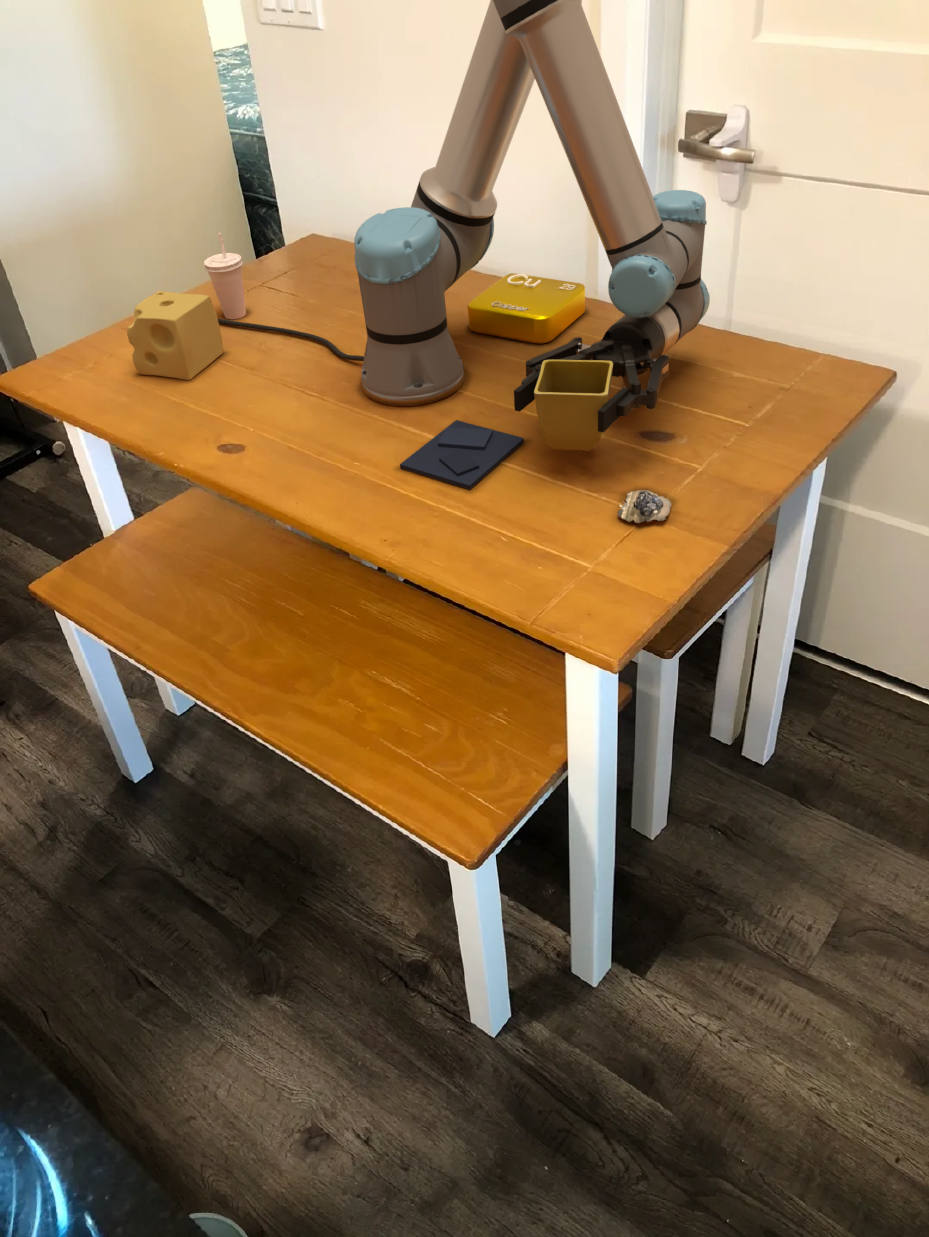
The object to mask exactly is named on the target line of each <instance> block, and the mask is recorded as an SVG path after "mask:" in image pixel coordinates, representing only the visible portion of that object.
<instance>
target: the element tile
mask: <svg viewBox="0 0 929 1237" xmlns="http://www.w3.org/2000/svg"><path fill="white" fill-rule="evenodd" d="M585 311H586V286H585V285H584V284H583V283H580V282H575V281H567V280H561V279H553V278H549V277H548V278H547V277H540V276H535V275H528V274H523V273H522V274H521V273H514V272H513V273H509V274H507V275H504V276H503V277H502V278H499V280H497V281H496V282H495V283H493V284H491V285H490V286H489V287H487V288H486V289H485V290H484V291H482V292H481V293H480V294H478V295H477V296H475V297H474V298H472V299H471V300H470V301H469V302H468V303H467V315H468V328H469V330H470V331H472V332H473V333H478V334H483V335H487V336H494V337H498V338H505V339H508V340H515V341H520V342H526V343H531V344H540V345H541V344H548V343H550V342H552V341H553V340H554V339H555V338H556V337H558V336H559V335H560V334H561V333H563V331H565V330H566V329H567V328H568V327H569V326H571V324H573V323H574V322H575V321H576V320H577V319H579V318H580V317H581V316H582V315H583V314H584V313H585Z"/></svg>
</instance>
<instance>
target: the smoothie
mask: <svg viewBox="0 0 929 1237" xmlns="http://www.w3.org/2000/svg"><path fill="white" fill-rule="evenodd" d="M217 236H218V241H219V244H220V248H221V253H218V254H214V255H211V256H209V257H207V258H206V259H205V260H204V261H203V265H204V270H205V271H206V272H207V274H208V276H209V278H210V281H211V284H212V287H213V289H214V291H215V294H216V297H217V300H218V302H219V305H220V307H221V310H222V313H223V316H224V318H225V319H226V320H238V319H241V318H243V317H245V316H246V315H247V308H246V300H245V299H246V298H245V290H244V288H245V287H244V281H243V270H242V269H243V268H242V265H243V258H242V256H241V255H240V254H238V253H235V252H226V248H225V244H224V239H223V236H222V232H218V233H217Z"/></svg>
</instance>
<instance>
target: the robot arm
mask: <svg viewBox="0 0 929 1237" xmlns="http://www.w3.org/2000/svg"><path fill="white" fill-rule="evenodd" d="M582 4H583V0H490V1H489V4H488V7H487V9H486V13H485V16H484V18H483V22H482V25H481V28H480V31H479V34H478V37H477V40H476V43H475V46H474V48H473V52H472V55H471V58H470V60H469V63H468V68H467V70H466V73H465V77H464V79H463V82H462V85H461V88H460V92H459V95H458V97H457V99H456V100H457V101H456V104H455V106H454V109H453V113H452V116H451V119H450V122H449V124H448V128H447V130H446V134H445V137H444V139H443V143H442V146H441V148H440V152H439V154H438V158H437V161H436V163H435V166H433V167H431V168H428V169H426V170H424V171H423V172H422V173H421V175H420V178H419V181H418V184H417V187H416V190H415V192H414V196H413V199H412V202H411V205H410V206H409V207H408V206H407V207H406V206H404V207H395V208H390V209H387V210H385V212H383V213H381V212H378V213H376V214H374V215H372V216H370V217H369V218H367V219H366V220H365V221H364V222H362V223H361V225H360V226H358V229H357V230H356V232H355V236H354V242H353V243H354V266H355V268H356V272H357V277H358V285H359V290H360V295H361V298H360V299H361V304H362V309H363V317H364V324H365V329H366V330H365V331H366V344H365V348H364V349H365V350H364V354H363V355H358V354H357V355H356V354H347V353H346V352H343V351H341V350H340V349H339V348H338V347H337V346H336V345H335V344H334V343H332V342H331V341H330V340H328V339H327V338H323V337H322V336H319V335H315V334H312V333H307V332H304V331H299V330H294V329H290V328H283V327H277V326H272V325H263V324H257V323H251V322H244V321H235V320H231V319H226V318H225V319H224V318H219V317H217V318H218V322H219V324H220V325H226V326H231V327H232V326H233V327H239V328H247V329H254V330H260V331H266V332H273V333H278V334H279V333H280V334H286V335H291V336H294V337H300V338H304V339H308V340H311V341H316V342H318V343H320V344H322V345H325V346H327V347H328V348H329V349H330V350H331V351H332V352H333V353H334V354H335V355H336V356H338V357H339V358H341V359H343V360H348V361H353V362H354V361H357V362H362V367H361V371H360V372H361V373H360V380H361V387H362V391H363V393H364V394H365V396H366V397H367V398H369V399H371V400H373V401H375V402H377V403H381V404H384V405H390V406H396V407H397V406H399V407H410V406H412V407H413V406H420V405H426V404H430V403H433V402H434V403H435V402H437V401H440V400H442V399H445V398H447V397H449V396H451V395H453V394H454V393H455V392H456V391H458V390H459V389H460V388H461V387H462V385H463V383H464V382H465V368H464V364H463V360H462V359H461V356H460V355H459V353H458V351H457V349H456V345H455V343H454V341H453V338H452V336H451V333H450V331H449V327H448V318H447V307H446V294H445V293H446V292H447V291H448V289H449V288H451V287H452V286H453V285H454V284H455V283H456V282H457V281H458V280H459V279H460V278H462V276H464V275H465V274H466V273H467V272H469V270H471V269H473V268H474V267H476V266H477V265H478V264H479V262H480V261H481V260H482V259H483V258H484V257H485V255H486V253H487V251H488V250H489V248H490V246H491V244H492V241H493V238H494V233H495V220H494V217H495V214H496V212H497V208H498V200H497V198H496V196H495V193H494V191H493V190H494V188H495V184H496V182H497V179H498V177H499V174H500V172H501V169H502V166H503V164H504V161H505V158H506V156H507V153H508V151H509V148H510V145H511V142H512V140H513V138H514V134H515V133H516V130H517V127H518V125H519V122H520V119H521V117H522V114H523V112H524V109H525V106H526V104H527V101H528V98H529V96H530V94H531V91H532V88H533V86H534V83H535V82H536V84H537V87H538V89H539V92H540V94H541V97H542V100H543V101H544V105H545V106H546V109H547V111H548V114H549V116H550V119H551V122H552V123H553V126H554V129H555V131H556V134H557V136H558V138H559V141H560V144H561V146H562V149H563V151H564V153H565V155H566V158H567V160H568V163H569V165H570V168H571V170H572V172H573V175H574V178H575V180H576V183H577V185H578V187H579V190H580V192H581V194H582V195H581V196H582V197H583V200H584V203H585V205H586V207H587V209H588V212H589V214H590V217H591V219H592V222H593V224H594V226H595V227H594V228H595V229H596V231H597V234H598V236H599V239H600V241H601V244H602V247H603V249H604V251H605V253H606V257H607V259H608V262H609V264H610V267H611V273H610V275H609V279H608V285H607V288H608V296H609V299H610V301H611V303H612V304H613V306H614V307H615V308H616V309H617V310H618V311H619V312H621V313H622V314H623V316H622V317H620V318H619V319H618V320H617V321H615V322H614V323H613V324H612V325H611V326H610V327H608V328H607V330H606V331H605V333H604V335H603V337H602V338H601V340H599V341H595V342H594V343H592V344H585V343H583V338H582V337H574V338H572V339H571V340H570V341H569V342H567V343H566V344H565V343H564V344H563V345H560V346H558V347H556V348H554V349H551V350H548V351H546V352H544V353H542V354H539V355H537V356H534V357H531V358H529V359H527V360H525V377H524V378H523V379H521V380H522V381H521V384H520V385H519V386H517V387H516V388H515V389H514V390H513V404H514V405H513V406H514V411H515V412H518V413H521V412H522V411H523V410H524V409H525V408H527V407H528V406H529V405H530V404H531V403H533V401H535V396H534V390H535V387H536V384H537V381H538V378H539V375H540V371H541V366H542V362H543V361H544V360H602V361H612V362H613V370H612V377H615V378H619V377H621V378H622V382H623V385H624V387H622V388H621V389H620V390H619V391H618V392H616V393H615V394H614V395H613V396H612V397H611V398H609V399H608V402H607V403H606V404H605V405H604V406H603V407H602V408H600V409H599V410H598V432H602V433H605V432H606V431H607V430H608V429H609V428H610V427H611V426H612V425H613V424H614V423H615V422H616V421H617V420H619V418H620V417H621V418H622V417H623V418H625V417H628V416H629V415H630V414H631V413H632V412H633V411H634V409H635V410H636V409H639V408H640V407H641V406H645V409H648V410H655V409H656V408H657V404H658V400H659V394H660V391H661V386H662V383H663V381H664V380H665V379H666V378H667V377H668V376H669V369H670V366H669V365H670V356H669V355H667V354H666V353H668V352H669V351H670V350H671V349H672V348H673V347H674V346H675V345H676V344H677V343H678V342H679V341H680V340H681V339H683V337H684V336H686V335H687V334H688V333H690V332H692V331H693V330H694V329H695V328H696V327H697V325H698V324H699V323H700V322H701V320H702V319H703V318H704V316H706V314H707V312H708V311H709V310H708V309H709V306H710V301H711V297H710V293H709V290H708V287H707V285H706V283H705V282H704V280H703V279H702V265H703V255H704V245H705V244H704V243H705V234H706V233H705V232H706V225H707V223H708V221H707V201H706V199H705V197H704V196H703V195H702V194H701V193H698V192H696V191H694V190H693V191H692V190H687V189H686V190H685V189H671V190H666V191H665V190H664V191H662V192H658V193H656V194H654V195H653V193H652V190H651V188H650V185H649V182H648V180H647V177H646V175H645V171H644V168H643V167H642V164H641V161H640V159H639V155H638V153H637V150H636V148H635V145H634V142H633V139H632V137H631V134H630V131H629V129H628V125H627V124H626V121H625V118H624V115H623V113H622V110H621V107H620V104H619V102H618V99H617V97H616V93H615V92H614V88H613V86H612V82H611V80H610V78H609V75H608V71H607V70H606V66H605V64H604V61H603V59H602V56H601V54H600V51H599V48H598V46H597V42H596V40H595V38H594V35H593V33H592V29H591V26H590V24H589V21H588V19H587V16H586V13H585V11H584V10H585V9H584V8H583V5H582ZM648 371H649V378H648V382H647V386H646V389H642V382H641V381H640V379H639V376H641V375H643V374H645V373H646V372H648Z"/></svg>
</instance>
